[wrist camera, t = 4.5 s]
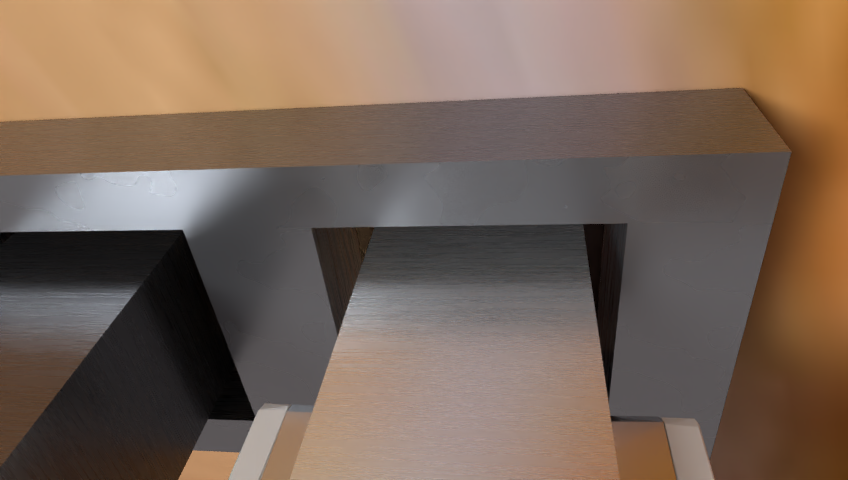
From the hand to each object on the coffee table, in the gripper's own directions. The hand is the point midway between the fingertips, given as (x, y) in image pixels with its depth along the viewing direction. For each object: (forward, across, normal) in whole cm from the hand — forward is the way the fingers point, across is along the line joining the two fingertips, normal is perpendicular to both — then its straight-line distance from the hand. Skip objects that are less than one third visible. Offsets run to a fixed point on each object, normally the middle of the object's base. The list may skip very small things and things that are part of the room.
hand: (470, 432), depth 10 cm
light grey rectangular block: (+5, 0, 0) cm, 5 cm away
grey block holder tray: (+5, +8, 0) cm, 9 cm away
